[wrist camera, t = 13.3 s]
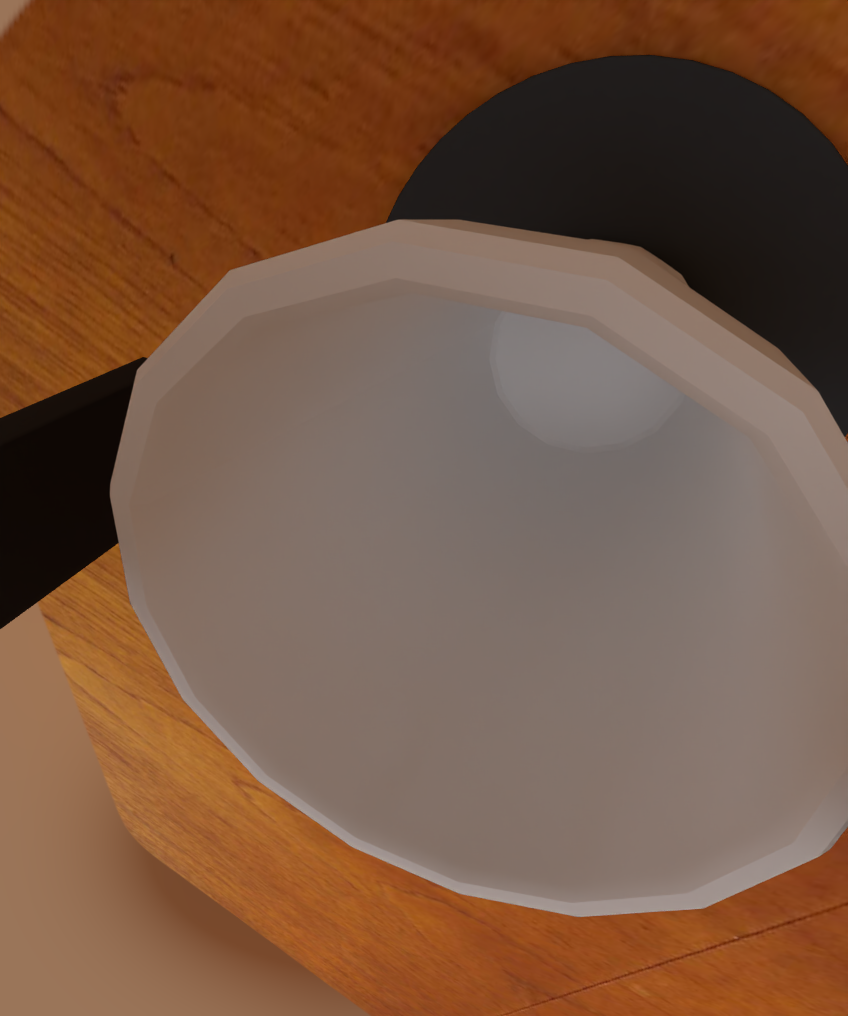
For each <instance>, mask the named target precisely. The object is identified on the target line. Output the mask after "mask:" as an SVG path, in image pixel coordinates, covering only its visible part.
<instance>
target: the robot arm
mask: <svg viewBox="0 0 848 1016" xmlns="http://www.w3.org/2000/svg"><path fill="white" fill-rule="evenodd" d="M147 359H148V358H145V357H142V358H140V359H138V360H135V361H133V362H131V363H128V364H126V365H124V366H121V367H119V368H117V369H114V370H112V371H110V372H107V373H105V374H103V375H100V376H98V377H96V378H93V379H91V380H89V381H86V382H84V383H82V384H79V385H77V386H74V387H72V388H70V389H67V390H65V391H63V392H60V393H58V394H56V395H53V396H51V397H49V398H46V399H44V400H42V401H39V402H37V403H35V404H32V405H30V406H28V407H25V408H23V409H21V410H18V411H16V412H14V413H11V414H9V415H7V416H4V417H2V418H0V629H1V628H3V627H4V626H5V625H7V624H8V623H9V622H10V621H12V620H14V619H15V618H16V617H18V616H19V615H20V614H22V613H23V612H24V611H26V610H27V609H29V608H30V607H31V606H33V605H34V604H35V603H37V602H38V601H40V600H41V599H42V598H44V597H45V596H46V595H48V594H49V593H51V592H52V591H53V590H55V589H56V588H57V587H59V586H60V585H61V584H63V583H64V582H66V581H67V580H68V579H70V578H71V577H72V576H74V575H75V574H77V573H78V572H79V571H81V570H82V569H83V568H85V567H86V566H87V565H89V564H90V563H92V562H93V561H94V560H96V559H97V558H98V557H100V556H101V555H103V554H104V553H105V552H107V551H108V550H109V549H111V548H112V547H113V546H115V545H116V544H118V543H119V541H118V536H117V531H116V526H115V520H114V515H113V510H112V504H111V499H110V483H111V479H112V474H113V470H114V466H115V462H116V457H117V453H118V449H119V445H120V440H121V436H122V432H123V428H124V423H125V419H126V415H127V411H128V407H129V402H130V398H131V394H132V390H133V385H134V381H135V377H136V373H137V370H138V368H139V367H140V366H141V365H142V364H143V363H144V362H145V361H146V360H147Z"/></svg>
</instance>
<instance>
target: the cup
mask: <svg viewBox="0 0 848 1016" xmlns="http://www.w3.org/2000/svg"><path fill="white" fill-rule="evenodd" d="M110 499H111V504H112V510H113V515H114V520H115V526H116V531H117V536H118V541H119V547H120V552H121V557H122V563H123V568H124V573H125V578H126V584H127V589H128V594H129V600H130V604H131V605H132V607H133V609H134V611H135V613H136V615H137V616H138V618H139V620H140V622H141V624H142V626H143V627H144V629H145V631H146V633H147V635H148V637H149V638H150V640H151V642H152V644H153V646H154V648H155V649H156V651H157V653H158V655H159V657H160V658H161V660H162V662H163V664H164V666H165V668H166V669H167V671H168V673H169V675H170V677H171V679H172V680H173V682H174V684H175V686H176V688H177V690H178V691H179V693H180V695H181V697H182V699H183V700H184V701H185V702H186V703H187V704H188V705H189V707H190V708H191V709H192V710H193V711H194V712H195V713H196V714H197V715H198V716H199V717H200V718H201V719H202V721H203V722H204V723H205V724H206V725H207V726H208V727H209V728H210V729H211V730H212V731H213V732H214V734H215V735H216V736H217V737H218V738H219V739H220V740H221V741H222V742H223V743H224V744H225V745H226V747H227V748H228V749H229V750H230V751H231V752H232V753H233V754H234V755H235V756H236V757H237V758H238V760H239V761H240V762H241V763H242V764H243V765H244V766H245V767H246V768H247V769H248V770H249V771H250V773H251V774H252V775H253V776H254V777H255V778H256V779H257V780H258V781H259V782H260V783H262V784H263V785H265V786H266V787H268V788H269V789H270V790H272V791H273V792H275V793H276V794H277V795H279V796H280V797H282V798H283V799H285V800H286V801H287V802H289V803H290V804H292V805H293V806H295V807H296V808H297V809H299V810H300V811H302V812H303V813H304V814H306V815H307V816H309V817H310V818H312V819H313V820H314V821H316V822H317V823H319V824H320V825H321V826H323V827H324V828H326V829H327V830H329V831H330V832H331V833H333V834H334V835H336V836H337V837H339V838H340V839H341V840H343V841H344V842H346V843H347V844H348V845H350V846H351V847H353V848H356V849H358V850H360V851H363V852H365V853H367V854H369V855H372V856H374V857H376V858H379V859H381V860H383V861H386V862H388V863H390V864H392V865H395V866H397V867H399V868H402V869H404V870H406V871H409V872H411V873H413V874H415V875H418V876H420V877H422V878H425V879H427V880H429V881H432V882H434V883H436V884H438V885H441V886H443V887H445V888H448V889H450V890H452V891H455V892H457V893H459V894H464V895H469V896H474V897H479V898H484V899H489V900H495V901H500V902H505V903H510V904H515V905H520V906H525V907H530V908H535V909H541V910H546V911H551V912H556V913H561V914H566V915H571V916H576V917H585V916H599V915H614V914H629V913H643V912H658V911H672V910H687V909H702V908H705V907H707V906H710V905H712V904H714V903H716V902H719V901H721V900H723V899H725V898H728V897H730V896H732V895H734V894H736V893H739V892H741V891H743V890H745V889H748V888H750V887H752V886H754V885H757V884H759V883H761V882H763V881H766V880H768V879H770V878H772V877H774V876H777V875H779V874H781V873H783V872H786V871H788V870H790V869H792V868H795V867H797V866H799V865H801V864H804V863H806V862H808V861H810V860H812V859H815V858H817V857H819V856H821V855H822V854H824V853H825V852H827V851H828V850H829V849H831V848H832V846H833V845H834V844H835V842H836V841H837V840H838V838H839V837H840V836H841V835H842V833H843V832H844V831H845V829H846V828H847V827H848V443H847V441H846V439H845V437H844V436H843V434H842V432H841V430H840V429H839V427H838V425H837V423H836V422H835V420H834V418H833V416H832V415H831V413H830V411H829V409H828V408H827V406H826V404H825V402H824V401H823V399H822V397H821V395H820V394H819V392H818V391H817V389H816V388H815V387H814V386H813V385H812V384H811V383H810V382H809V381H808V380H807V379H806V378H805V377H804V375H803V374H802V373H801V372H800V371H799V370H798V369H797V368H796V367H795V366H794V365H793V364H792V363H791V362H790V360H789V359H788V358H787V357H786V356H785V355H784V354H783V353H782V352H781V351H780V350H779V349H778V348H777V347H775V346H774V345H772V344H771V343H770V342H768V341H767V340H765V339H764V338H762V337H761V336H759V335H758V334H756V333H755V332H754V331H752V330H751V329H749V328H748V327H746V326H745V325H743V324H742V323H740V322H739V321H738V320H736V319H735V318H733V317H732V316H730V315H729V314H727V313H726V312H724V311H723V310H721V309H720V308H719V307H717V306H716V305H714V304H713V303H711V302H710V301H708V300H707V299H705V298H704V297H703V296H701V295H700V294H698V293H697V292H695V291H694V290H692V289H691V288H690V287H689V286H688V284H687V283H686V281H685V279H684V278H683V276H682V275H681V274H680V273H679V272H677V271H676V270H674V269H673V268H672V267H670V266H669V265H667V264H666V263H665V262H663V261H662V260H660V259H659V258H657V257H656V256H654V255H653V254H651V253H650V252H648V251H647V250H645V249H643V248H642V247H639V246H634V245H629V244H624V243H618V242H611V241H603V240H596V239H589V240H586V239H580V238H573V237H567V236H561V235H554V234H548V233H541V232H535V231H529V230H522V229H516V228H509V227H503V226H496V225H490V224H484V223H477V222H471V221H464V220H395V221H392V222H388V223H385V224H382V225H378V226H375V227H372V228H369V229H365V230H362V231H359V232H355V233H352V234H349V235H345V236H342V237H339V238H335V239H332V240H329V241H325V242H322V243H319V244H315V245H312V246H309V247H305V248H302V249H299V250H296V251H292V252H289V253H286V254H282V255H279V256H276V257H272V258H269V259H266V260H262V261H259V262H256V263H252V264H249V265H246V266H242V267H239V268H236V269H233V270H230V271H229V272H228V273H227V274H226V275H225V276H224V277H223V278H222V279H221V280H220V281H219V282H218V284H217V285H216V286H215V287H214V288H213V289H212V290H211V291H210V292H209V293H208V294H207V295H206V296H205V298H204V299H203V300H202V301H201V302H200V303H199V304H198V305H197V306H196V307H195V308H194V309H193V310H192V312H191V313H190V314H189V315H188V316H187V317H186V318H185V319H184V320H183V321H182V322H181V323H180V324H179V325H178V327H177V328H176V329H175V330H174V331H173V332H172V333H171V334H170V335H169V336H168V337H167V338H166V339H165V341H164V342H163V343H162V344H161V345H160V346H159V347H158V348H157V349H156V350H155V351H154V352H153V353H152V354H151V356H150V357H149V358H148V359H147V360H146V361H145V362H144V363H143V364H142V365H141V366H140V367H139V368H138V370H137V373H136V377H135V381H134V385H133V390H132V394H131V398H130V402H129V407H128V411H127V415H126V419H125V423H124V428H123V432H122V436H121V440H120V445H119V449H118V453H117V457H116V462H115V466H114V470H113V474H112V479H111V483H110Z"/></svg>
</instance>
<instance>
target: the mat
mask: <svg viewBox="0 0 848 1016" xmlns="http://www.w3.org/2000/svg"><path fill="white" fill-rule="evenodd" d="M395 220H464V221H471V222H477V223H484V224H490V225H496V226H503V227H509V228H516V229H522V230H529V231H535V232H541V233H548V234H554V235H561V236H567V237H573V238H580V239H586V240H589V239H596V240H603V241H611V242H618V243H624V244H629V245H634V246H639V247H642V248H643V249H645V250H647V251H648V252H650V253H651V254H653V255H654V256H656V257H657V258H659V259H660V260H662V261H663V262H665V263H666V264H667V265H669V266H670V267H672V268H673V269H674V270H676V271H677V272H679V273H680V274H681V275H682V276H683V278H684V279H685V281H686V283H687V284H688V286H689V287H690V288H691V289H692V290H694V291H695V292H697V293H698V294H700V295H701V296H703V297H704V298H705V299H707V300H708V301H710V302H711V303H713V304H714V305H716V306H717V307H719V308H720V309H721V310H723V311H724V312H726V313H727V314H729V315H730V316H732V317H733V318H735V319H736V320H738V321H739V322H740V323H742V324H743V325H745V326H746V327H748V328H749V329H751V330H752V331H754V332H755V333H756V334H758V335H759V336H761V337H762V338H764V339H765V340H767V341H768V342H770V343H771V344H772V345H774V346H775V347H777V348H778V349H779V350H780V351H781V352H782V353H783V354H784V355H785V356H786V357H787V358H788V359H789V360H790V362H791V363H792V364H793V365H794V366H795V367H796V368H797V369H798V370H799V371H800V372H801V373H802V374H803V375H804V377H805V378H806V379H807V380H808V381H809V382H810V383H811V384H812V385H813V386H814V387H815V388H816V389H817V391H818V392H819V394H820V395H821V397H822V399H823V401H824V402H825V404H826V406H827V408H828V409H829V411H830V413H831V415H832V416H833V418H834V420H835V422H836V423H837V425H838V427H839V429H840V430H841V432H842V434H843V436H844V437H845V436H846V435H847V433H848V165H847V164H846V163H845V161H844V160H843V158H842V157H841V155H840V154H839V153H838V151H837V150H836V148H835V147H834V145H833V144H832V143H831V142H830V141H829V140H828V139H827V138H826V137H825V136H824V135H823V134H822V133H821V132H820V131H819V130H818V129H817V128H816V127H815V126H814V125H813V124H812V123H811V122H810V121H809V120H808V119H807V118H806V117H805V116H804V115H803V114H802V113H801V112H799V111H798V110H797V109H795V108H794V107H792V106H791V105H790V104H788V103H787V102H785V101H784V100H783V99H781V98H780V97H778V96H777V95H776V94H774V93H773V92H771V91H770V90H768V89H766V88H764V87H762V86H760V85H758V84H756V83H754V82H752V81H750V80H747V79H745V78H743V77H741V76H739V75H737V74H735V73H733V72H730V71H727V70H724V69H720V68H717V67H713V66H710V65H707V64H703V63H700V62H696V61H693V60H686V59H679V58H671V57H663V56H655V55H633V56H608V57H603V58H597V59H592V60H586V61H581V62H575V63H570V64H567V65H564V66H561V67H558V68H555V69H552V70H549V71H546V72H543V73H540V74H537V75H534V76H532V77H530V78H528V79H526V80H524V81H522V82H520V83H518V84H516V85H514V86H512V87H510V88H508V89H506V90H504V91H502V92H500V93H498V94H497V95H495V96H494V97H492V98H491V99H489V100H488V101H487V102H485V103H484V104H482V105H481V106H479V107H478V108H476V109H475V110H474V111H472V112H471V113H469V114H468V115H466V116H465V117H464V118H463V119H462V120H461V121H460V122H459V123H458V124H457V125H456V126H454V127H453V128H452V129H451V130H450V131H449V132H448V133H447V134H446V135H445V136H444V137H442V138H441V139H440V140H439V142H438V143H437V144H436V145H435V146H434V147H433V149H432V150H431V151H430V152H429V153H428V155H427V156H426V157H425V158H424V159H423V161H422V162H421V163H420V164H419V165H418V167H417V168H416V170H415V171H414V173H413V174H412V176H411V177H410V179H409V181H408V182H407V184H406V185H405V187H404V188H403V190H402V191H401V193H400V195H399V196H398V199H397V201H396V203H395V205H394V207H393V209H392V211H391V213H390V215H389V217H388V220H387V222H386V223H388V222H392V221H395Z"/></svg>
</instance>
